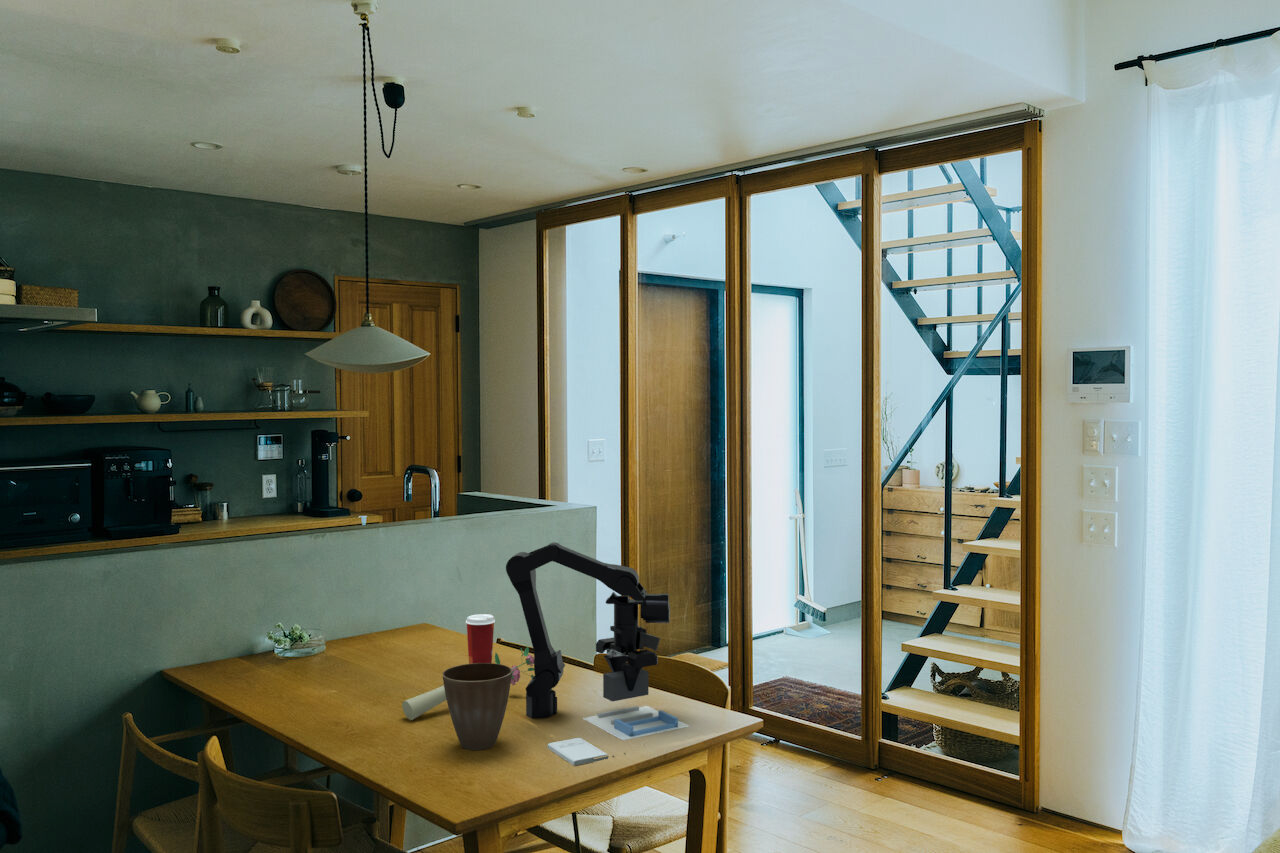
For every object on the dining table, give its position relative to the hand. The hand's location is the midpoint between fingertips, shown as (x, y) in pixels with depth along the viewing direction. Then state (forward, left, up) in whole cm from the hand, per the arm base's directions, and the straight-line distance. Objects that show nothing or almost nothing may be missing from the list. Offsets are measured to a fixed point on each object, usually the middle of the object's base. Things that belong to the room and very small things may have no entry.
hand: (625, 688), depth 230 cm
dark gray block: (0, 0, -2) cm, 2 cm away
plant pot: (-36, +3, -8) cm, 37 cm away
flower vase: (-26, +30, -8) cm, 41 cm away
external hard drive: (-20, -13, -8) cm, 25 cm away
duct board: (0, -4, -8) cm, 9 cm away
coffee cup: (-11, +59, -8) cm, 61 cm away
